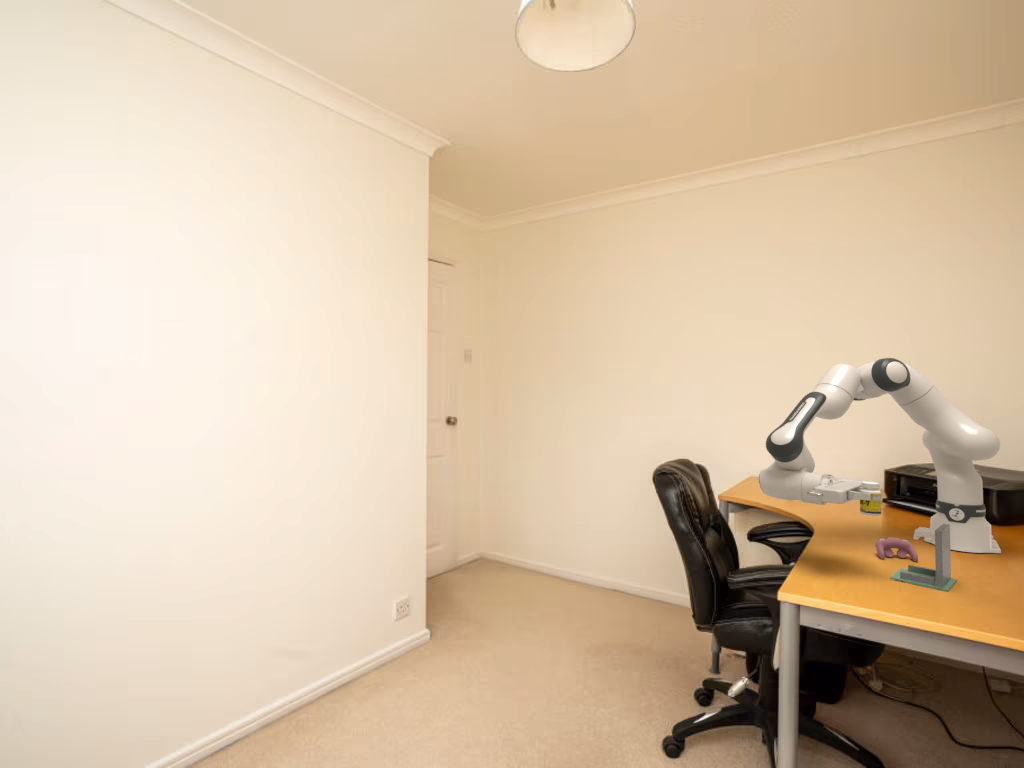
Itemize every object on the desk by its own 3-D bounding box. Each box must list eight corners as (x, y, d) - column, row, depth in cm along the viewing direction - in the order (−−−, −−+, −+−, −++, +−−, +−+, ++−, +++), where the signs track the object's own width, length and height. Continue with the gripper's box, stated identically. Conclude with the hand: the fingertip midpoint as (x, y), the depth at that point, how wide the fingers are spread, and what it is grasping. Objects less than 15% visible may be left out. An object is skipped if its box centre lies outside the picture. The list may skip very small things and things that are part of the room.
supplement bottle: (856, 512, 145) (855, 481, 146) (872, 511, 146) (871, 481, 146) (869, 516, 141) (868, 484, 141) (886, 515, 141) (885, 483, 141)
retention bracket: (909, 570, 146) (908, 518, 146) (951, 578, 139) (949, 524, 139) (899, 578, 139) (898, 524, 139) (943, 587, 133) (941, 531, 133)
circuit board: (901, 569, 148) (901, 568, 148) (956, 581, 139) (956, 579, 139) (890, 579, 140) (890, 577, 140) (948, 591, 131) (948, 589, 131)
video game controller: (914, 564, 157) (910, 540, 160) (920, 561, 153) (915, 536, 156) (875, 561, 160) (871, 537, 163) (880, 558, 156) (876, 534, 160)
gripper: (803, 481, 146) (862, 488, 136) (829, 473, 160) (884, 479, 149) (804, 505, 146) (862, 513, 136) (830, 495, 160) (885, 501, 149)
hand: (874, 495), depth 143 cm, fingers closed on supplement bottle, 5 cm apart
